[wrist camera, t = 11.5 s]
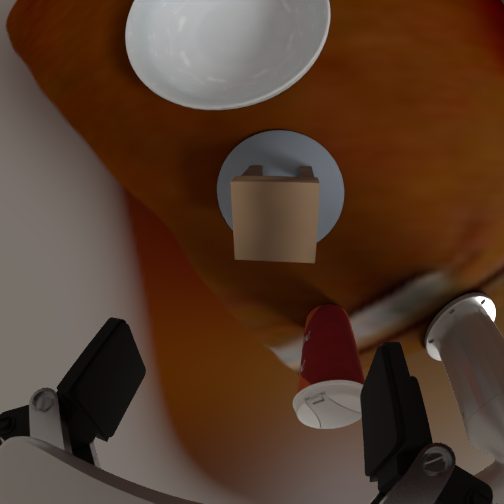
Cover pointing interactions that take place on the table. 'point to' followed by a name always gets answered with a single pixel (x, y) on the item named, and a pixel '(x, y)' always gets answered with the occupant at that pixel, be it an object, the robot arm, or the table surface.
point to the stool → (275, 216)
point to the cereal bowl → (224, 48)
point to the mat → (285, 171)
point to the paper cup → (329, 371)
